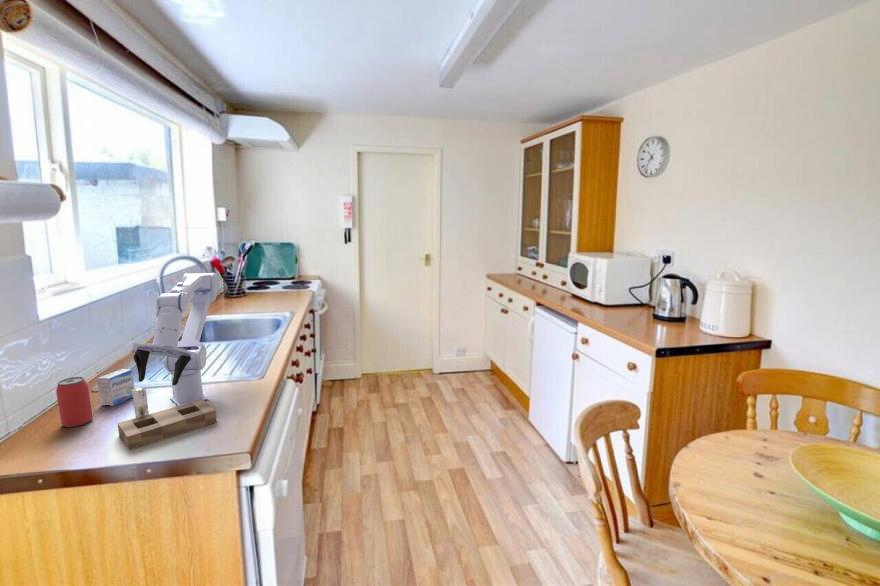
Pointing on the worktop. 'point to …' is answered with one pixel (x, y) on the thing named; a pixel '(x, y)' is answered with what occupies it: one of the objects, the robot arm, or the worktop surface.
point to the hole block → (165, 424)
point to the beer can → (74, 401)
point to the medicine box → (116, 387)
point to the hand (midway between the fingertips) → (158, 382)
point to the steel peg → (140, 401)
